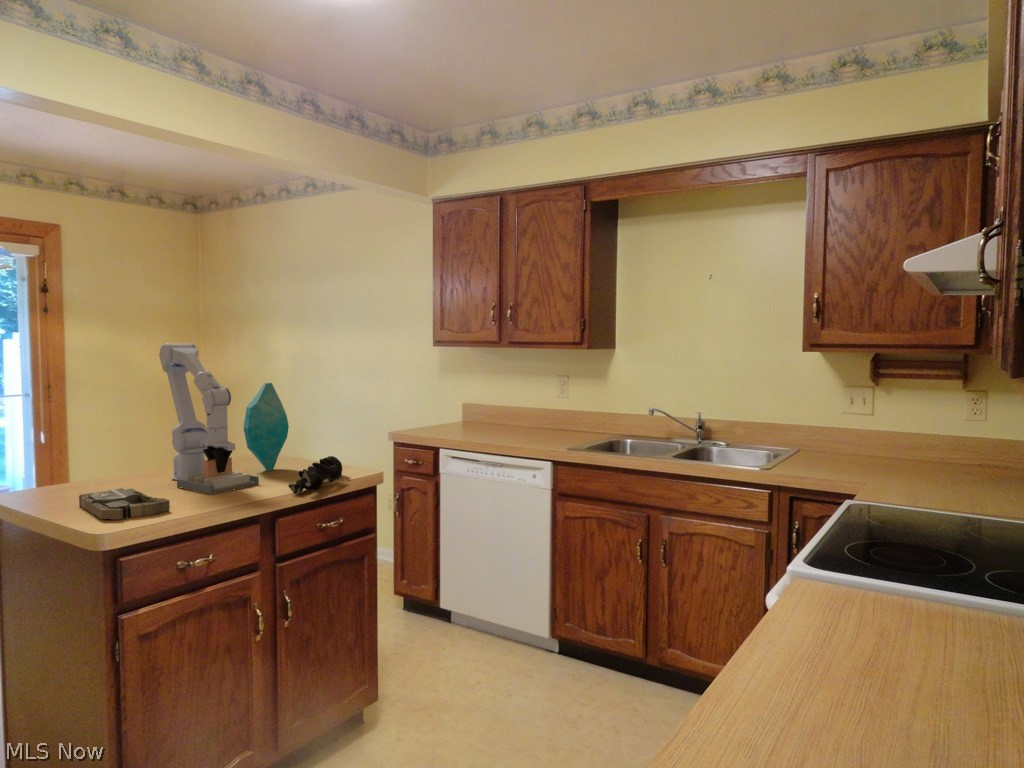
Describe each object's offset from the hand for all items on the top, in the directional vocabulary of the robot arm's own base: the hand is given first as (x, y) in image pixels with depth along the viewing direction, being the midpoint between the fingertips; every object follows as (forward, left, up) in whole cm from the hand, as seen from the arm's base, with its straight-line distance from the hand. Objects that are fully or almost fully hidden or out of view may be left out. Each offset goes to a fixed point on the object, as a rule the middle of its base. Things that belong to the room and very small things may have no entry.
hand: (218, 471), depth 198 cm
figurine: (+23, +19, -5) cm, 30 cm away
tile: (0, 0, -3) cm, 3 cm away
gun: (+4, -30, -5) cm, 31 cm away
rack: (0, 0, -4) cm, 4 cm away
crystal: (-8, +24, -5) cm, 26 cm away
